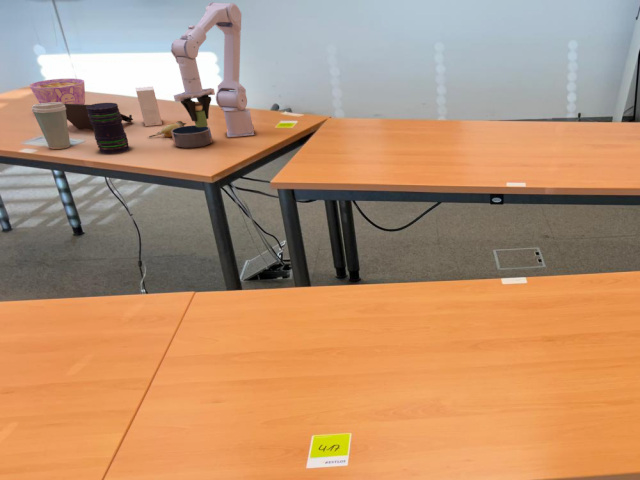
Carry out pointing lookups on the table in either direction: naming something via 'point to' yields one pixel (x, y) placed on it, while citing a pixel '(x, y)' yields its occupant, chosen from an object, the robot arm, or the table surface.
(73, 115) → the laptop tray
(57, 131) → the disposable coffee cup
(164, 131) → the decorative bird model
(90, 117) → the dark striped cylinder
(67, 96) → the bowl of food
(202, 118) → the peg doll
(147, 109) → the small box
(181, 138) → the bowl
